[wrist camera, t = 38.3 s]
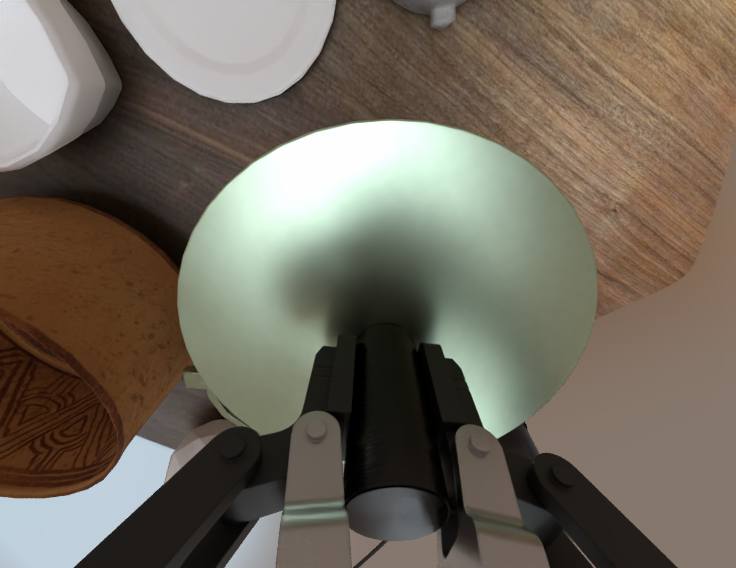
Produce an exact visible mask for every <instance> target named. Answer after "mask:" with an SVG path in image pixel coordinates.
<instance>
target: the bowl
mask: <svg viewBox="0 0 736 568" xmlns="http://www.w3.org/2000/svg"><path fill="white" fill-rule="evenodd" d="M121 90H122V82H121V79H120V77H119V75H118V73H117V71H116V69H115V67H114V65H113V63H112V61H111V59H110V57H109V55H108V53H107V52H106V50H105V49H104V47H103V45H102V44H101V42H100V41H99V39H98V38H97V36H96V35H95V33H94V31H93V30H92V28H91V27H90V25H89V24H88V22H87V21H86V20H85V19H84V18H83V17H82V16H81V15H80V14H79V12H78V11H77V10H76V9H75V8H74V7H73V6H72V5H71V4H70V3H69V2H68V1H67V0H0V172H6V171H12V170H18V169H22V168H24V167H26V166H28V165H30V164H32V163H34V162H35V161H37V160H39V159H41V158H43V157H45V156H47V155H49V154H51V153H53V152H54V151H56V150H58V149H59V148H61V147H63V146H64V145H66V144H68V143H69V142H71V141H73V140H75V139H76V138H78V137H79V136H80V135H82V134H84V133H85V132H87V131H89V130H90V129H92V128H94V127H96V126H97V125H99V124H101V123H102V121H103V120H104V119H105V117H106V116H107V115H108V113H109V112H110V111H111V109H112V108H113V107H114V105H115V103H116V101H117V98H118V96H119V94H120V92H121Z"/></svg>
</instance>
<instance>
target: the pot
mask: <svg viewBox="0 0 736 568" xmlns="http://www.w3.org/2000/svg"><path fill="white" fill-rule="evenodd" d="M179 272H180V269H179V267H178V266H177V265H176V264H175V263H174V262H173V261H172V260H171V258H170V257H169V256H168V255H167V254H166V253H165V252H164V251H163V250H162V249H161V248H159V247H158V246H157V245H156V244H155V243H153V242H152V241H151V240H150V239H149V238H147V237H146V236H145V235H144V234H143V233H141V232H140V231H138V230H136V229H135V228H133V227H131V226H130V225H128V224H127V223H125V222H123V221H122V220H120V219H119V218H117V217H115V216H112V215H110V214H108V213H106V212H103V211H101V210H99V209H96V208H94V207H92V206H90V205H86V204H82V203H79V202H75V201H71V200H67V199H64V198H60V197H49V196H37V195H27V196H19V197H11V198H4V199H0V497H10V498H50V497H58V496H66V495H70V494H73V493H76V492H80V491H83V490H86V489H89V488H90V487H92V486H94V485H95V484H97V483H99V482H101V481H102V480H104V478H105V477H106V476H107V475H108V474H109V473H110V471H111V470H112V469H113V468H114V467H115V465H116V464H117V463H118V461H119V459H120V458H121V456H122V454H123V452H124V450H125V449H126V447H127V446H128V445H129V443H130V442H131V441H132V439H133V438H134V437H135V435H136V434H137V433H138V432H139V430H140V429H141V428H142V426H143V425H144V424H145V422H146V421H147V420H148V419H149V417H150V416H151V415H152V414H153V412H154V411H155V410H156V409H157V408H158V406H159V405H160V404H161V403H162V401H163V400H164V399H165V398H166V396H167V395H168V394H169V393H170V391H171V390H172V389H173V388H174V387H175V385H176V384H177V383H178V382H179V380H180V379H181V378H182V377H183V374H182V371H183V370H184V368H185V367H186V366H187V365H189V366H191V365H192V364H193V361H192V359H191V357H190V355H189V353H188V351H187V348H186V345H185V342H184V338H183V335H182V332H181V328H180V322H179V315H178V307H177V291H178V277H179Z"/></svg>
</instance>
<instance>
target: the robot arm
mask: <svg viewBox="0 0 736 568" xmlns="http://www.w3.org/2000/svg"><path fill="white" fill-rule="evenodd" d="M355 350H356V336H354V335H344V334H338V339H337V346H336V347H332V346H323V347H322V348H321V349H320V350H319V351H318V352H317V353H316V355H315V359H314V363H313V368H312V372H311V376H310V380H309V384H308V388H307V392H306V397H305V401H304V405H303V409H302V412H301V414H300V416H299V418H298V419H297V420H296V422H295V423H294V424H292V425H291V426H290V427H288V428H286V429H284V430H282V431H279V432H275V433H271V434H266V435H262V436H259V434H258V433H257V432H256V431H255V430H254V429H252V428H249V427H245V426H237V427H232V428H229V429H227V430H224V431H223V432H221V433H219V434H218V435H217V436H216V437H214V438H213V439H212V440H211V441H210V442H209V443H208V444H207V445H206V446H205V447H204V448H202V449H201V450H200V451H199V452H198V453H197V454H196V455H195V456H194V457H193V458H192V459H191V460H189V461H188V462H187V463H186V464H185V465H184V466H183V467H182V468H181V469H180V470H179V471H178V472H176V473H175V474H174V475H173V476H172V477H171V478H170V479H169V480H168V481H167V482H166V483H165V484H164V485H162V486H161V487H160V488H159V489H158V490H157V491H156V492H155V493H154V494H153V495H152V496H151V497H150V498H149V499H147V500H146V501H145V502H144V503H143V504H142V505H141V506H140V507H139V508H138V509H137V510H136V511H134V512H133V513H132V514H131V515H130V516H129V517H128V518H127V519H126V520H125V521H124V522H122V523H121V524H120V525H119V526H118V527H117V528H116V529H115V530H114V531H113V532H112V533H111V534H110V535H108V536H107V537H106V538H105V539H104V540H103V541H102V542H101V543H100V544H99V545H98V546H97V547H96V548H94V549H93V550H92V551H91V552H90V553H89V554H88V555H87V556H86V557H85V558H84V559H82V560H81V561H80V562H79V563H78V564H77V565H76V566H75V567H74V568H224V567H225V566H226V564H227V563H228V562H229V560H230V559H231V557H232V556H233V555H234V553H235V552H236V551H237V549H238V548H239V546H240V545H241V544H242V542H243V540H244V539H245V538H246V537H247V535H248V534H249V532H250V531H251V529H252V528H253V527H254V526H255V524H256V523H257V521H258V520H259V518H260V517H264V516H267V515H270V514H273V513H276V512H279V511H283V513H282V516H281V523H280V531H279V540H278V549H277V559H276V568H352V562H351V548H350V547H351V546H350V532H349V518H348V511H347V507H346V506H345V499H344V482H343V465H342V461H345V451H346V438H347V434H348V432H349V426H350V419H351V411H352V396H353V380H354V365H355ZM418 356H419V361H420V366H421V370H422V375H423V380H424V385H425V389H426V394H427V399H428V403H429V408H430V413H431V418H432V422H433V427H434V432H435V436H436V441H437V446H438V451H439V455H440V460H441V465H442V469H443V474H444V479H445V484H446V488H447V493H448V498H449V502H450V508H451V510H450V516H449V519H448V521H447V522H446V523H445V525H444V526H442V527H441V528H440V529H439V530H437V531H436V533H437V553H438V567H437V568H593V567H592V565H591V564H590V563H589V562H588V561H587V560H586V558H585V557H584V556H583V555H582V554H581V552H580V551H579V550H578V549H577V547H576V546H575V545H574V544H573V542H575V543H576V544H577V546H578V547H579V548H580V549H581V550H582V552H583V553H584V554H585V555H586V556H587V558H588V559H589V560H590V561H591V562H592V563H593V564H594V566H595V567H596V568H677V567H676V566H675V565H674V564H673V563H672V562H671V561H670V560H669V559H668V558H667V557H666V556H665V555H664V554H663V553H662V552H661V551H660V550H659V549H658V548H657V547H656V546H655V545H654V544H653V543H652V542H651V541H650V540H649V539H648V538H647V537H646V536H645V535H644V534H643V533H642V532H641V531H640V530H639V529H638V528H637V527H636V526H634V524H633V523H631V522H630V521H629V520H628V519H627V518H626V517H625V516H624V515H623V514H622V513H621V512H620V511H619V510H618V509H617V508H616V507H615V506H614V505H613V504H612V503H611V502H610V501H609V500H608V499H607V498H606V497H605V496H604V495H603V494H602V493H601V492H600V491H599V490H598V489H597V488H596V487H595V486H594V485H593V484H592V483H591V482H590V481H588V479H587V478H586V477H584V475H583V474H581V473H580V472H579V471H578V470H577V469H576V468H575V467H574V466H573V465H572V464H570V463H569V462H568V461H566V460H565V459H563V458H562V457H560V456H557V455H554V454H551V453H542V454H539V452H538V450H537V448H536V446H535V444H534V442H533V441H532V439H531V437H530V435H529V433H528V431H527V426H526V424H525V422H524V423H522V424H521V425H519V426H518V427H516V428H515V429H513V430H511V431H510V432H508V433H506V434H505V435H503V436H501V437H500V438H498V439H497V438H496V437H495V436H494V435H493V434H492V433H491V432H489V431H488V430H486V429H484V427H483V424H482V422H481V419H480V416H479V414H478V411H477V409H476V406H475V403H474V401H473V398H472V395H471V393H470V391H469V387H468V385H467V382H465V377H464V374H463V372H462V369H461V368H460V367H459V365H458V364H457V363H456V362H455V361H454V360H453V359H451V358H445V356H444V353H443V350H442V347H441V345H440V344H432V343H420V346H419V349H418ZM386 542H388V541H385V540H383V541H382V542H381V543H380V544H379V545H378V546H377V547H376V548H374V549H373V550H372V551H371V552H370V553H369V554H368V555H367V556H366V557H365V558H364V559H362V560H361V561H360V562H359V563H358V564H357V565H356V566H354V567H353V568H359V567H360V566H361V565H362V564H363V563H364V562H366V561H367V560H368V559H369V558H370V557H371V556H372V555H374V554H375V553H376V552H377V551H378V550H379V549H380V548H381V547H382V546H383V545H384V544H385V543H386Z"/></svg>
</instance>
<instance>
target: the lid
mask: <svg viewBox="0 0 736 568" xmlns="http://www.w3.org/2000/svg"><path fill="white" fill-rule="evenodd" d="M597 302H598V276H597V270H596V264H595V257H594V253H593V250H592V247H591V244H590V241H589V238H588V235H587V232H586V230H585V227H584V226H583V224H582V222H581V220H580V218H579V217H578V215H577V213H576V211H575V210H574V208H573V206H572V204H571V203H570V202H569V200H568V199H567V198H566V197H565V196H564V194H563V193H562V192H561V191H560V190H559V188H558V187H557V186H556V185H555V184H554V182H553V181H552V180H551V179H550V178H548V177H547V176H546V175H545V174H544V173H543V172H541V171H540V170H539V169H538V168H537V167H536V166H534V165H533V164H532V163H531V162H530V161H528V160H527V159H526V158H524V157H522V156H521V155H519V154H517V153H516V152H514V151H512V150H510V149H509V148H507V147H505V146H504V145H502V144H500V143H499V142H497V141H494V140H491V139H489V138H486V137H484V136H481V135H479V134H476V133H474V132H471V131H469V130H466V129H463V128H458V127H454V126H449V125H445V124H440V123H436V122H431V121H423V120H408V119H393V118H388V119H376V120H364V121H353V122H348V123H344V124H340V125H335V126H331V127H327V128H323V129H319V130H315V131H312V132H310V133H307V134H305V135H303V136H300V137H298V138H295V139H293V140H290V141H288V142H285V143H283V144H281V145H279V146H278V147H276V148H274V149H273V150H271V151H269V152H268V153H266V154H264V155H263V156H261V157H259V158H258V159H256V160H254V161H253V162H251V163H250V164H249V165H248V166H246V167H245V168H244V169H243V170H242V171H241V172H239V173H238V174H237V175H236V176H235V177H233V178H232V179H231V180H230V181H229V182H227V183H226V185H225V186H224V187H223V188H222V189H221V190H220V192H219V193H218V194H217V195H216V196H215V198H214V199H213V200H212V201H211V202H210V203H209V205H208V206H207V207H206V209H205V211H204V212H203V214H202V216H201V217H200V219H199V221H198V222H197V224H196V226H195V227H194V229H193V231H192V233H191V236H190V238H189V241H188V244H187V246H186V249H185V251H184V254H183V257H182V262H181V267H180V272H179V277H178V291H177V307H178V315H179V322H180V328H181V332H182V335H183V338H184V342H185V345H186V348H187V351H188V353H189V355H190V357H191V359H192V361H193V364H194V366H195V368H196V369H197V371H198V372H199V374H200V376H201V377H202V379H203V380H204V382H205V383H206V385H207V386H208V387H209V389H210V390H211V391H212V392H213V393H214V395H215V396H216V397H217V398H218V399H219V401H220V402H221V403H222V404H223V405H224V406H226V407H227V408H228V409H229V410H230V411H231V412H232V413H233V414H234V415H235V416H236V417H238V418H239V419H240V420H242V421H243V422H244V423H246V424H247V425H248V426H250V427H251V428H252V429H254V430H256V431H257V432H259V433H261V434H262V435H266V434H271V433H275V432H279V431H282V430H284V429H286V428H288V427H290V426H291V425H292V424H294V423H295V422H296V420H297V419H298V418H299V416H300V414H301V412H302V409H303V405H304V401H305V397H306V392H307V388H308V384H309V380H310V376H311V372H312V368H313V363H314V359H315V355H316V353H317V352H318V351H319V350H320V349H321V348H322V347H323V346H332V347H336V346H337V339H338V334H344V335H354V336H356V350H355V365H354V380H353V396H352V411H351V419H350V426H349V432H348V434H347V438H346V451H345V461H342V463H345V464H344V477H343V482H344V499H345V506H346V507H347V511H348V518H349V528H350V529H352V530H353V531H355V532H356V533H358V534H360V535H363V536H366V537H369V538H373V539H378V540H385V541H403V540H412V539H416V538H420V537H424V536H427V535H429V534H431V533H433V532H435V531H437V530H439V529H440V528H441V527H442V526H444V525H445V523H446V522H447V521H448V519H449V516H450V510H451V508H450V502H449V498H448V493H447V488H446V484H445V479H444V474H443V469H442V465H441V460H440V455H439V451H438V446H437V441H436V436H435V432H434V427H433V422H432V418H431V413H430V408H429V403H428V399H427V394H426V389H425V385H424V380H423V375H422V370H421V366H420V361H419V356H418V349H419V346H420V343H432V344H440V345H441V347H442V350H443V353H444V356H445V358H451V359H453V360H454V361H455V362H456V363H457V364H458V365H459V367H460V368H461V369H462V372H463V374H464V377H465V382H467V385H468V387H469V391H470V393H471V395H472V398H473V401H474V403H475V406H476V409H477V411H478V414H479V416H480V419H481V422H482V424H483V427H484V429H486V430H488V431H489V432H491V433H492V434H493V435H494V436H495V437H496V438H497V439H498V438H500V437H501V436H503V435H505V434H506V433H508V432H510V431H511V430H513V429H515V428H516V427H518V426H519V425H521V424H522V423H523V422H525V421H526V420H527V419H529V418H530V417H532V416H533V415H534V414H535V413H536V412H537V411H538V410H540V409H541V408H542V407H543V406H544V405H545V404H546V403H547V402H549V400H550V399H551V398H552V397H553V396H554V395H555V394H556V393H557V391H558V390H559V389H560V388H561V387H562V386H563V385H564V383H565V382H566V380H567V379H568V378H569V376H570V375H571V373H572V372H573V370H574V369H575V367H576V365H577V364H578V362H579V360H580V358H581V356H582V354H583V352H584V350H585V348H586V346H587V343H588V340H589V337H590V334H591V331H592V328H593V325H594V319H595V314H596V309H597Z"/></svg>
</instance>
